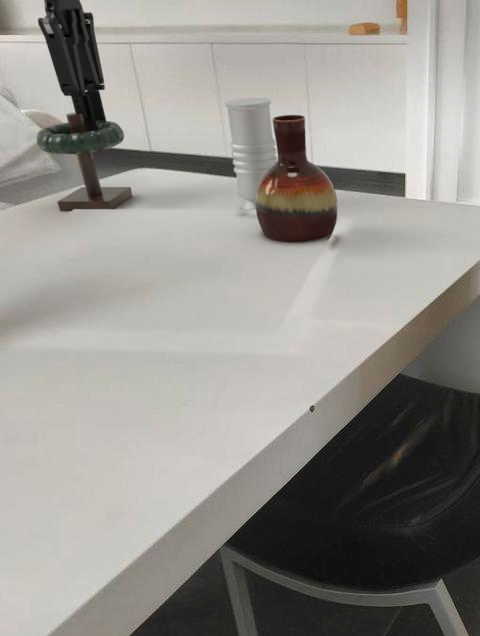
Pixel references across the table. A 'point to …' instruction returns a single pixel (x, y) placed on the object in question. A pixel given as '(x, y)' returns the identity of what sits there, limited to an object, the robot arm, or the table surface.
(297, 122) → the vase
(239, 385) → the table surface
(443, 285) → the table surface
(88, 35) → the robot arm
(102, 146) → the ring
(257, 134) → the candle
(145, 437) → the table surface
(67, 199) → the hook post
